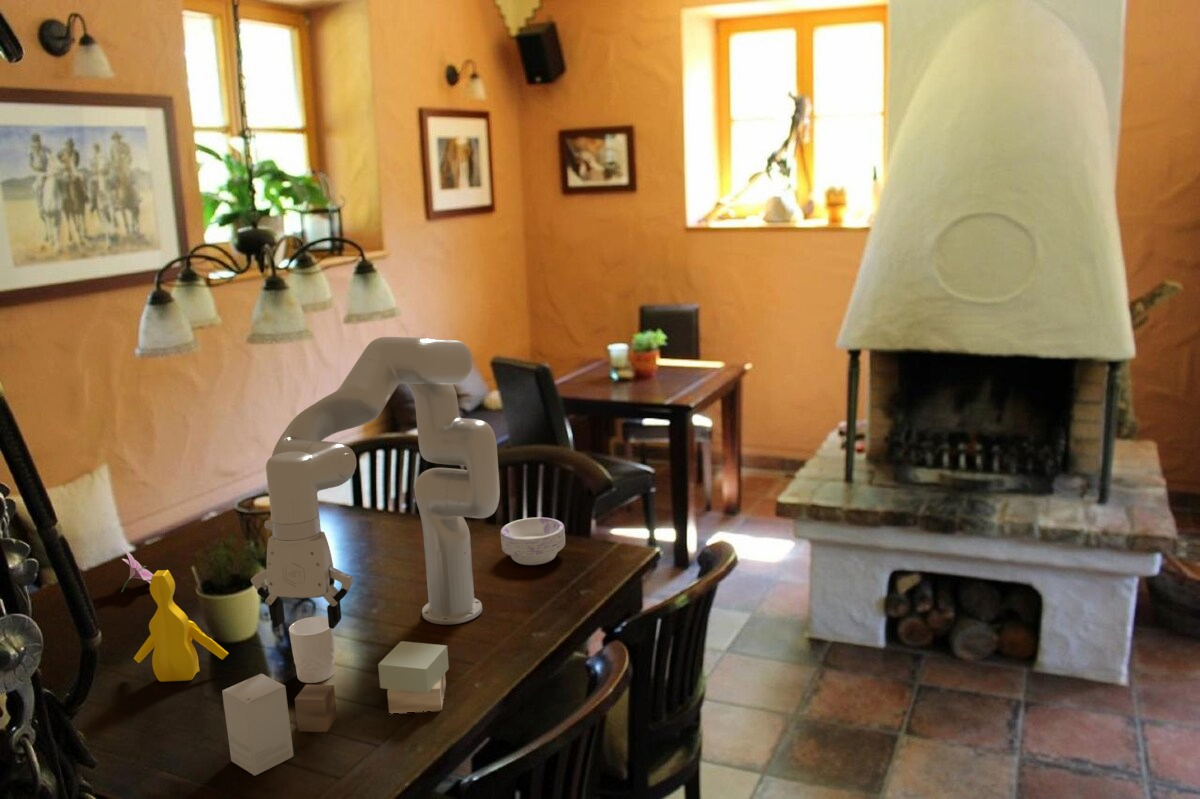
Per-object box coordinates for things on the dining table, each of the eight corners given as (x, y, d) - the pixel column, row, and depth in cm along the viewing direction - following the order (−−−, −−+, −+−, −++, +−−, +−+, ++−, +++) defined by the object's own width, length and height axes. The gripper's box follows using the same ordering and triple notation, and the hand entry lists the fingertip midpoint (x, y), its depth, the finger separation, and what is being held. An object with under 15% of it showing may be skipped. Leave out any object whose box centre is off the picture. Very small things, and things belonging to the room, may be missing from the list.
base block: (396, 689, 189) (394, 667, 188) (446, 686, 190) (444, 664, 189) (389, 715, 181) (387, 691, 180) (441, 712, 181) (439, 688, 180)
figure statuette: (233, 665, 201) (220, 557, 196) (220, 685, 193) (205, 573, 188) (141, 669, 201) (125, 561, 196) (123, 689, 193) (106, 578, 188)
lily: (140, 607, 232) (158, 566, 233) (91, 588, 232) (109, 547, 233) (161, 601, 244) (178, 563, 245) (114, 583, 244) (131, 544, 245)
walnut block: (309, 716, 181) (306, 684, 180) (337, 716, 181) (333, 685, 179) (298, 731, 176) (294, 699, 175) (326, 732, 176) (323, 699, 174)
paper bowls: (489, 559, 250) (487, 527, 248) (538, 542, 260) (537, 512, 258) (529, 576, 239) (527, 543, 237) (579, 557, 248) (577, 526, 247)
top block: (402, 664, 190) (400, 641, 188) (448, 668, 187) (447, 645, 186) (380, 688, 181) (378, 664, 180) (428, 693, 179) (426, 669, 178)
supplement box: (295, 756, 169) (287, 685, 166) (253, 777, 163) (244, 704, 160) (270, 741, 173) (262, 671, 171) (229, 760, 168) (220, 689, 165)
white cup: (320, 661, 201) (315, 613, 199) (346, 672, 196) (341, 623, 194) (285, 677, 195) (280, 627, 193) (311, 689, 190) (305, 638, 188)
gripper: (235, 535, 168) (247, 633, 172) (339, 536, 166) (348, 635, 170) (256, 519, 175) (266, 614, 179) (355, 520, 173) (364, 616, 177)
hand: (306, 624), depth 174 cm, fingers open, 9 cm apart
